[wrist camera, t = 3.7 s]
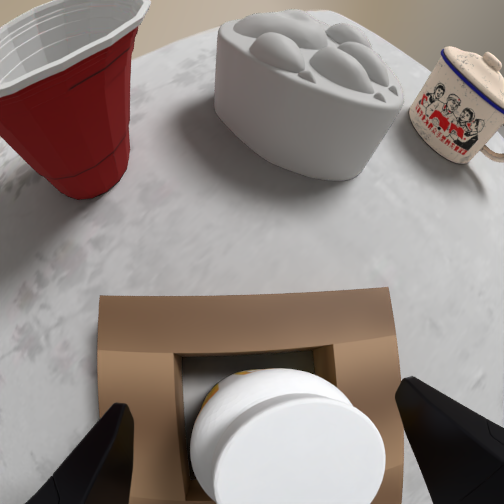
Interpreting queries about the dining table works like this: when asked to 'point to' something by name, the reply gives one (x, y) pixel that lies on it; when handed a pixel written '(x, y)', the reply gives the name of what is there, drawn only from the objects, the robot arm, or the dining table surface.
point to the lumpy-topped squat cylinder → (304, 92)
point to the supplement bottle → (285, 442)
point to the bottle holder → (233, 344)
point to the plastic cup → (70, 90)
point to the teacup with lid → (461, 105)
